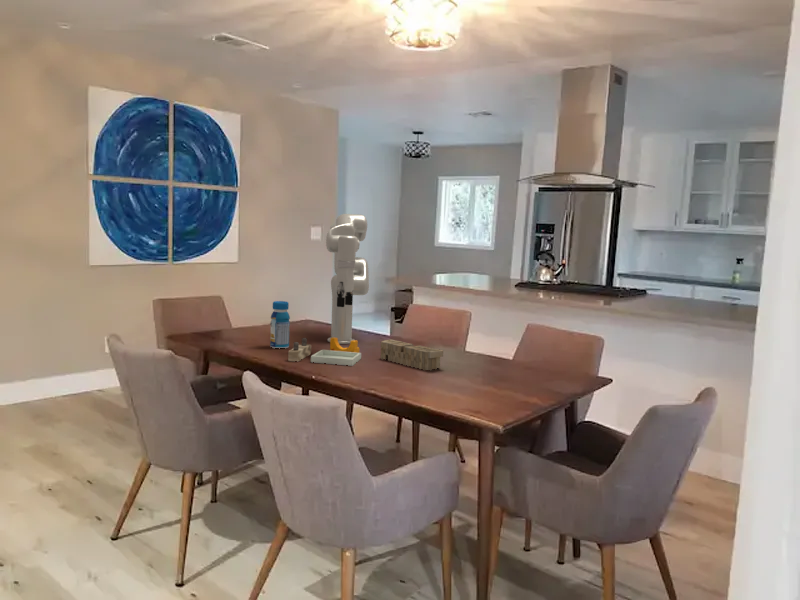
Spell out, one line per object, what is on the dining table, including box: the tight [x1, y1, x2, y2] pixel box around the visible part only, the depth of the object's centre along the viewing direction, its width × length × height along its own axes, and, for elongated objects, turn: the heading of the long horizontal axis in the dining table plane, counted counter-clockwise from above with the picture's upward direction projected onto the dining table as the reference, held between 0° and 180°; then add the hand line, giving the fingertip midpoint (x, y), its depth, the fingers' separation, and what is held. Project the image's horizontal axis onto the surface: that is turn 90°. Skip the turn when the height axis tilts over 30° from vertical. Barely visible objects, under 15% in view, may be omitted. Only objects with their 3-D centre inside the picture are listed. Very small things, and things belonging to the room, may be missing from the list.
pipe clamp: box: [329, 337, 361, 353], centre depth 271 cm, size 12×4×6 cm, turn 63°
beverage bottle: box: [269, 300, 291, 350], centre depth 277 cm, size 8×8×20 cm
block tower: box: [380, 338, 444, 371], centre depth 258 cm, size 8×8×29 cm
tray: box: [310, 349, 362, 367], centre depth 257 cm, size 14×17×2 cm
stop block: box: [287, 337, 312, 362], centre depth 260 cm, size 16×4×7 cm, turn 169°
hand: (344, 305), depth 269 cm, fingers open, 9 cm apart
